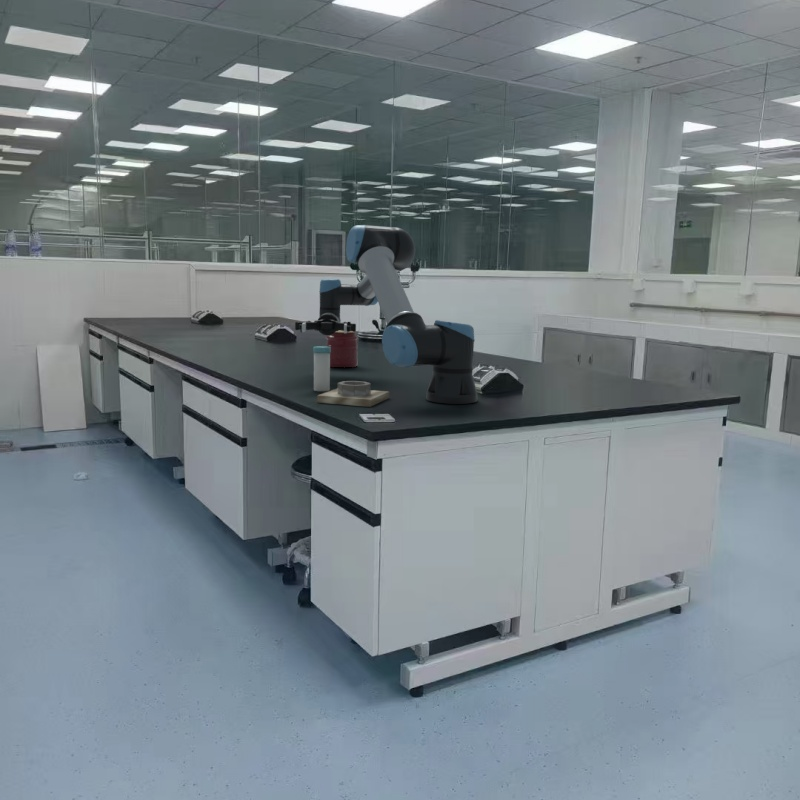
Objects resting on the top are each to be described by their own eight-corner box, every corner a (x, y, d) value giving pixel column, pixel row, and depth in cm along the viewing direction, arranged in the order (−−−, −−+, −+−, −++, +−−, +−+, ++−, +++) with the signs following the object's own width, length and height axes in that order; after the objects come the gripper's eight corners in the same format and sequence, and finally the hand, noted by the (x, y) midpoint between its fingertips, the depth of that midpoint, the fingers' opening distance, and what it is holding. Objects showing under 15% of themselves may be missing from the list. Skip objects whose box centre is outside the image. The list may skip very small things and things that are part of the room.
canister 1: (332, 389, 225) (333, 346, 222) (326, 392, 220) (326, 348, 217) (317, 388, 226) (317, 345, 224) (310, 390, 221) (310, 347, 219)
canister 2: (353, 368, 277) (354, 323, 274) (321, 367, 279) (321, 322, 276) (360, 365, 290) (361, 321, 287) (329, 363, 292) (330, 320, 289)
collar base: (388, 398, 211) (389, 381, 210) (370, 406, 196) (370, 388, 195) (339, 394, 216) (339, 378, 215) (317, 402, 201) (317, 384, 200)
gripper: (363, 335, 252) (362, 341, 231) (292, 333, 251) (285, 339, 230) (363, 314, 250) (362, 318, 229) (292, 312, 249) (285, 315, 228)
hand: (324, 328), depth 230 cm, fingers open, 13 cm apart
